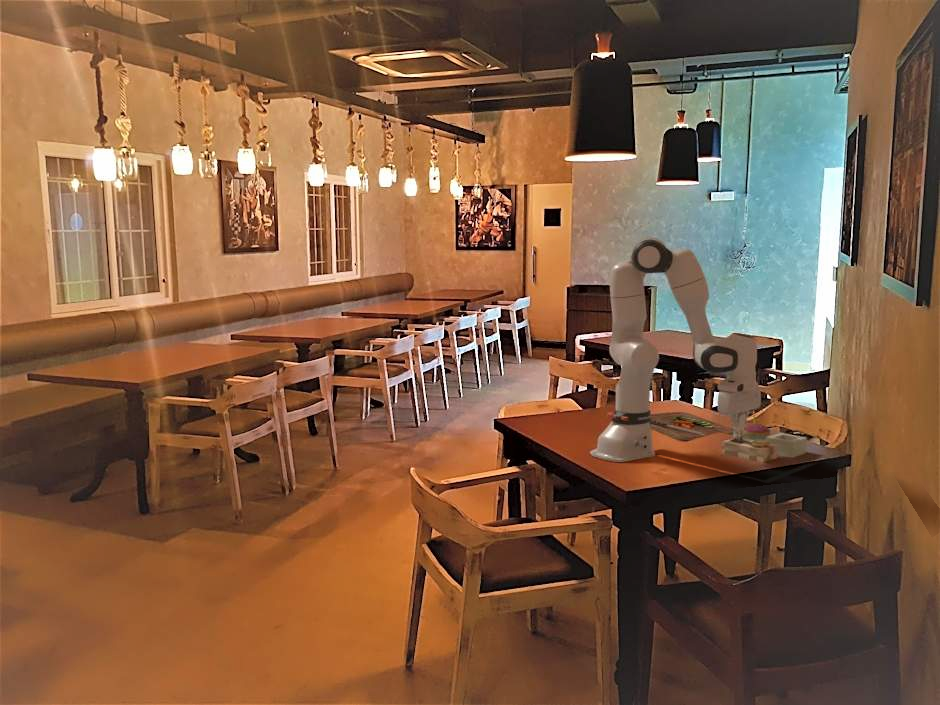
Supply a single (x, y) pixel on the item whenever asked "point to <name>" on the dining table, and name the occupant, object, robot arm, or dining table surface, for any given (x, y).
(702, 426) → the chopping board
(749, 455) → the socket block
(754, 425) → the cupcake
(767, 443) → the drift key
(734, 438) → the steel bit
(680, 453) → the dining table surface
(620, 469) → the dining table surface
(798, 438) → the bit rack
